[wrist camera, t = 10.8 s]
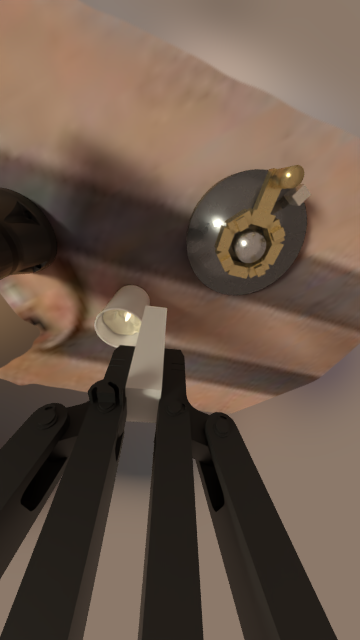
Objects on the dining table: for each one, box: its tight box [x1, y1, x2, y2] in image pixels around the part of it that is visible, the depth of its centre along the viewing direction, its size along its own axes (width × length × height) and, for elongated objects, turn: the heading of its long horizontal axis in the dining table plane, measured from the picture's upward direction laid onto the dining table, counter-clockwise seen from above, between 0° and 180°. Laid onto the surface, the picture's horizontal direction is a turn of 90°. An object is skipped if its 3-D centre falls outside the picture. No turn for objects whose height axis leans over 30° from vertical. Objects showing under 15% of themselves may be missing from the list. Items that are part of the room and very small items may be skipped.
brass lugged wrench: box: [214, 165, 304, 279], centre depth 31 cm, size 17×11×7 cm, turn 166°
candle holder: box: [95, 285, 150, 348], centre depth 42 cm, size 10×10×12 cm
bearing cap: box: [186, 169, 311, 295], centre depth 36 cm, size 22×22×7 cm
